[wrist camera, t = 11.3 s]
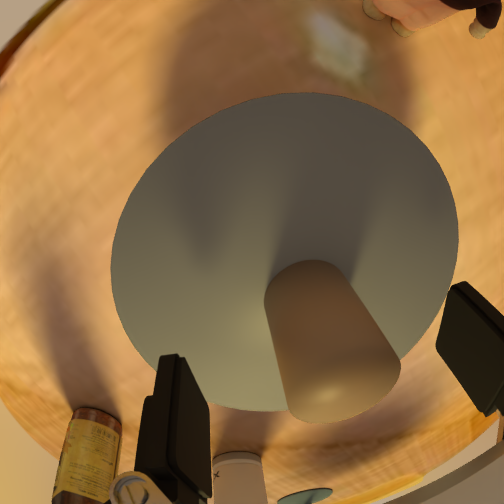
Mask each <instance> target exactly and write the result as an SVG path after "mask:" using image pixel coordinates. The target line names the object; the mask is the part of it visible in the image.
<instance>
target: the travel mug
mask: <svg viewBox="0 0 504 504" xmlns="http://www.w3.org/2000/svg"><path fill="white" fill-rule="evenodd" d="M212 467H213V488H214V504H268V501H267V495H266V489H265V482H264V476H263V470H262V462H261V458H260V457H259V456H257V455H256V454H253V453H249V452H229V453H225V454H222V455H219V456H217V457H216V458H215V459H214V460H213V461H212Z"/></svg>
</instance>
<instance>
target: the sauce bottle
mask: <svg viewBox="0 0 504 504" xmlns="http://www.w3.org/2000/svg"><path fill="white" fill-rule="evenodd" d="M121 447H122V427H121V425H120V423H119V422H118V421H117V420H116V419H114V418H113V417H112V416H110V415H109V414H106V413H105V412H102V411H99V410H96V409H91V408H90V409H89V408H79V409H77V410H76V411H75V412H74V413H73V415H72V418H71V421H70V422H69V425H68V428H67V432H66V436H65V440H64V444H63V448H62V452H61V456H60V461H59V466H58V470H57V475H56V480H55V486H54V490H53V495H52V504H103V503H105V502H106V501H107V500H109V499H110V498H109V489H110V485H111V483H112V482H113V480H114V479H115V478H116V477H117V476H118V469H119V461H120V454H121Z"/></svg>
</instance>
